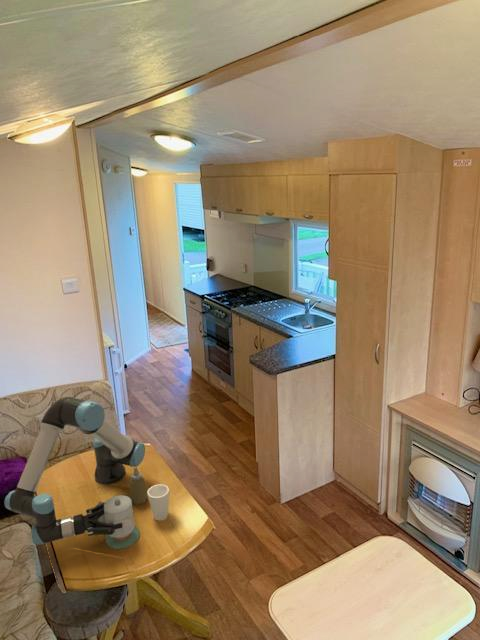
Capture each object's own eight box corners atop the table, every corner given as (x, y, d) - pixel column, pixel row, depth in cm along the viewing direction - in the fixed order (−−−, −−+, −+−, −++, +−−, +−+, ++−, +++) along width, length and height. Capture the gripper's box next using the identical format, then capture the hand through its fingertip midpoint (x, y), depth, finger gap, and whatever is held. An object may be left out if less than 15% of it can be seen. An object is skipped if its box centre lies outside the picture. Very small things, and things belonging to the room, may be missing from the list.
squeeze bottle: (136, 509, 224) (132, 475, 218) (127, 501, 229) (123, 467, 224) (151, 501, 229) (147, 467, 223) (142, 493, 234) (138, 460, 229)
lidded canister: (115, 517, 212) (112, 489, 208) (138, 521, 209) (135, 493, 205) (102, 535, 202) (97, 506, 198) (126, 539, 199) (122, 510, 195)
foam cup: (167, 524, 213) (164, 498, 210) (146, 522, 215) (144, 496, 211) (174, 509, 222) (171, 485, 218) (154, 507, 224) (152, 483, 220)
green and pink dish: (116, 523, 215) (115, 514, 214) (145, 528, 211) (144, 519, 210) (99, 546, 202) (97, 536, 201) (129, 552, 199) (128, 542, 197)
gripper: (74, 515, 210) (126, 503, 216) (75, 553, 188) (133, 539, 195) (72, 500, 208) (124, 488, 214) (72, 537, 186) (131, 523, 193)
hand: (128, 512), depth 204 cm, fingers closed on lidded canister, 11 cm apart
